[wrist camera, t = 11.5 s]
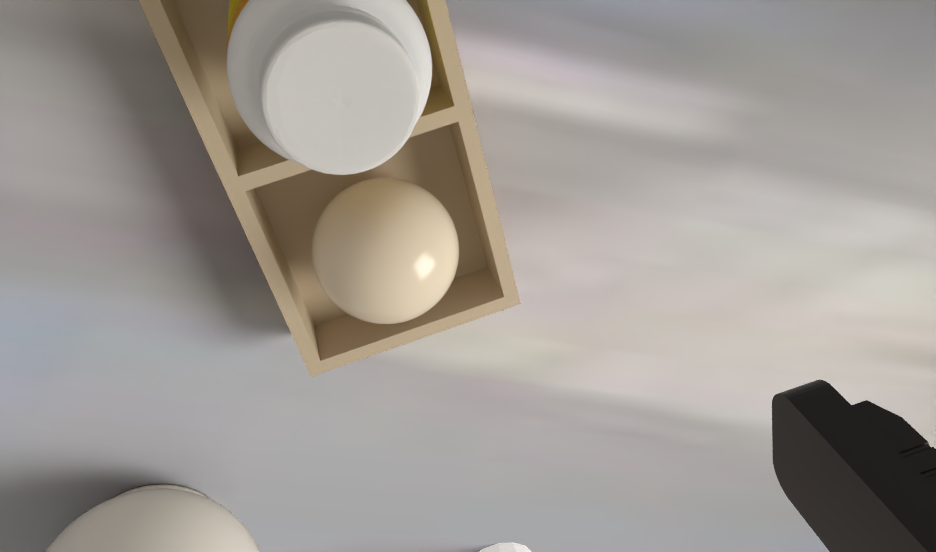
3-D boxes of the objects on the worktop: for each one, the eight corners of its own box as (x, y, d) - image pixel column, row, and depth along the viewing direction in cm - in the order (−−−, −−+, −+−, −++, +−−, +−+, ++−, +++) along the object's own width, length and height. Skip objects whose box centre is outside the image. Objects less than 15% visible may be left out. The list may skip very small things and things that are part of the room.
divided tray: (387, -169, 26) (404, -166, 24) (499, 266, 36) (520, 303, 33) (117, -89, 26) (102, -78, 23) (305, 333, 35) (311, 376, 33)
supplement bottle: (239, 94, 29) (238, 214, 20) (218, -72, 26) (207, -14, 17) (391, 86, 30) (451, 196, 21) (386, -74, 27) (453, -20, 19)
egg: (422, 136, 31) (454, 194, 27) (456, 253, 34) (489, 323, 30) (286, 181, 31) (294, 247, 26) (332, 295, 34) (347, 373, 29)
